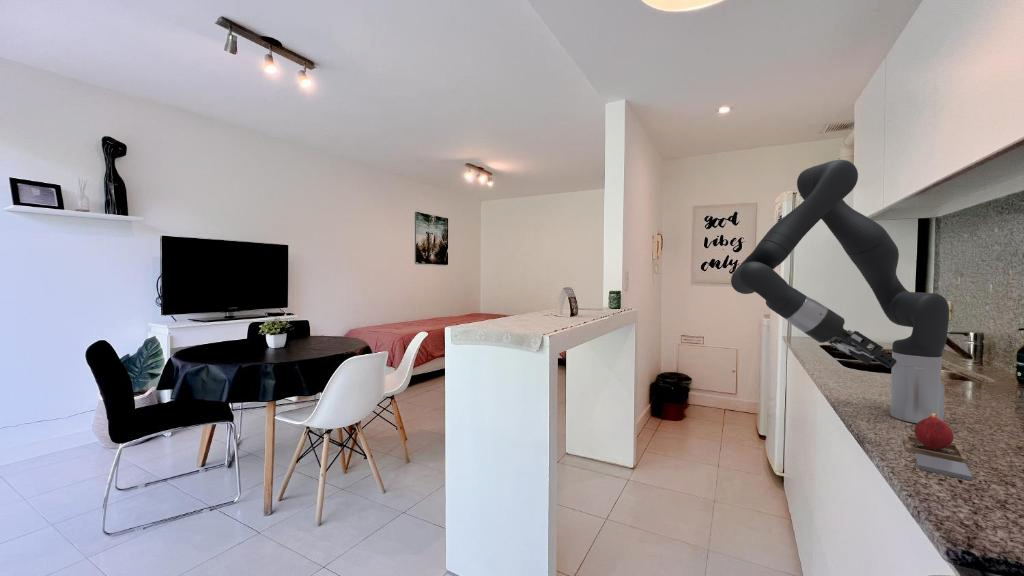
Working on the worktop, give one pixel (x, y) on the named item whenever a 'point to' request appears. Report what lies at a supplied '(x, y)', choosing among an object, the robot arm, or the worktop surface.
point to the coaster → (943, 466)
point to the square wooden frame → (957, 448)
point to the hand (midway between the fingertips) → (881, 362)
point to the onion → (933, 433)
